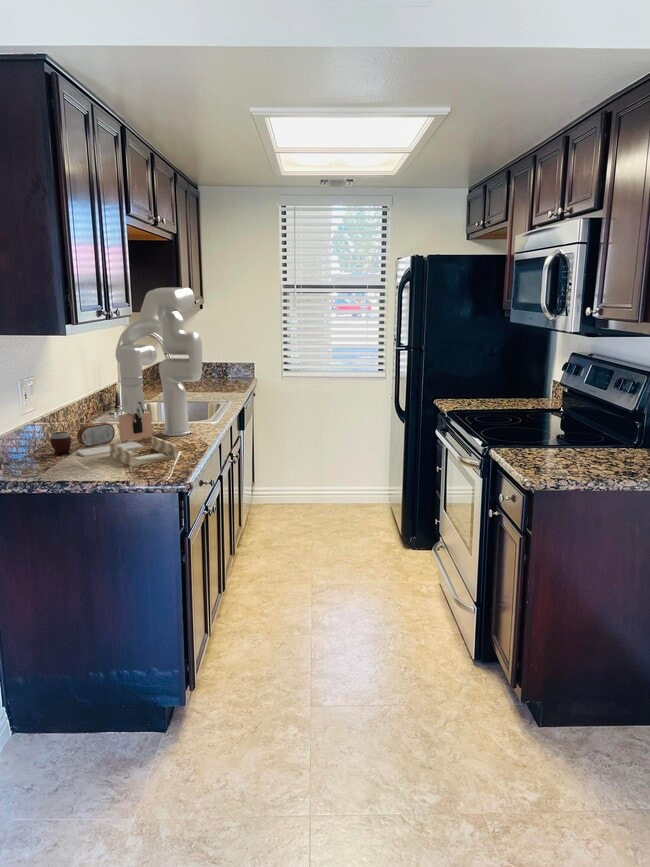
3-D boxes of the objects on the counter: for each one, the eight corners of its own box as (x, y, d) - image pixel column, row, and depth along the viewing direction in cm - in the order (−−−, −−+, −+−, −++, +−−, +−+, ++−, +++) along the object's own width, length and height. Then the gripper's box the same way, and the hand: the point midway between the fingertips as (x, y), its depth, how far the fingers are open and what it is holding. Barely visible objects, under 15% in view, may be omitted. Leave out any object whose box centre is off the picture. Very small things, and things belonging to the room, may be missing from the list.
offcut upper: (134, 460, 216) (134, 457, 216) (161, 456, 222) (161, 453, 222) (138, 462, 213) (138, 459, 213) (166, 458, 219) (165, 455, 219)
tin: (112, 440, 250) (110, 420, 248) (116, 441, 248) (115, 421, 246) (77, 447, 239) (75, 426, 237) (82, 448, 237) (79, 427, 235)
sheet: (120, 439, 223) (118, 415, 221) (149, 435, 229) (147, 411, 227) (123, 441, 221) (121, 416, 219) (152, 436, 227) (150, 412, 225)
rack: (110, 456, 224) (109, 443, 223) (154, 449, 234) (153, 436, 233) (131, 467, 209) (130, 452, 208) (177, 458, 220) (176, 445, 219)
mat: (77, 453, 229) (76, 450, 229) (134, 444, 243) (134, 441, 243) (85, 457, 222) (85, 455, 222) (143, 448, 236) (143, 445, 236)
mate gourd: (76, 452, 231) (72, 412, 228) (63, 457, 224) (59, 416, 220) (58, 451, 233) (54, 412, 229) (45, 456, 225) (40, 416, 222)
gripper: (113, 380, 224) (117, 430, 228) (130, 385, 212) (135, 437, 216) (133, 378, 229) (137, 427, 233) (151, 383, 216) (155, 434, 221)
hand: (136, 431), depth 224 cm, fingers closed on sheet, 2 cm apart
